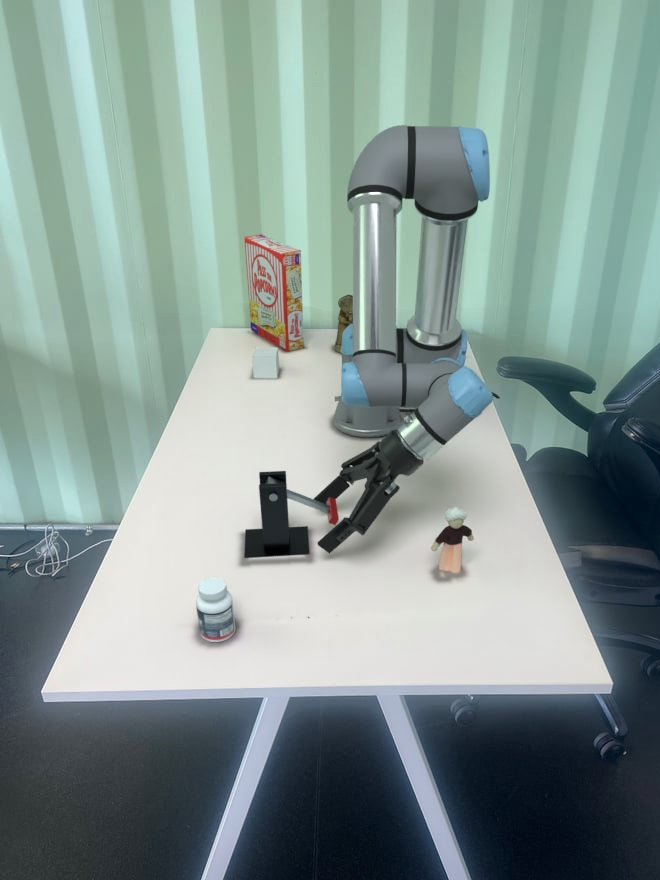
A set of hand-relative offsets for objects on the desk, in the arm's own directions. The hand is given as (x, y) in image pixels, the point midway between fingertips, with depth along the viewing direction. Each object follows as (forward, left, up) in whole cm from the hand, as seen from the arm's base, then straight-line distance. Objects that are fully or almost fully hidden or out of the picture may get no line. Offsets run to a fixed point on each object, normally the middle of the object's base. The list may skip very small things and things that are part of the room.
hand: (320, 525), depth 131 cm
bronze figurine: (-13, -92, -4) cm, 93 cm away
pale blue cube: (+10, -78, -4) cm, 79 cm away
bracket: (+8, 0, -4) cm, 9 cm away
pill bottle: (+17, +21, -4) cm, 27 cm away
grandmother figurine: (-21, +10, -4) cm, 24 cm away
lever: (+4, 0, +5) cm, 6 cm away
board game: (+7, -103, -4) cm, 103 cm away
